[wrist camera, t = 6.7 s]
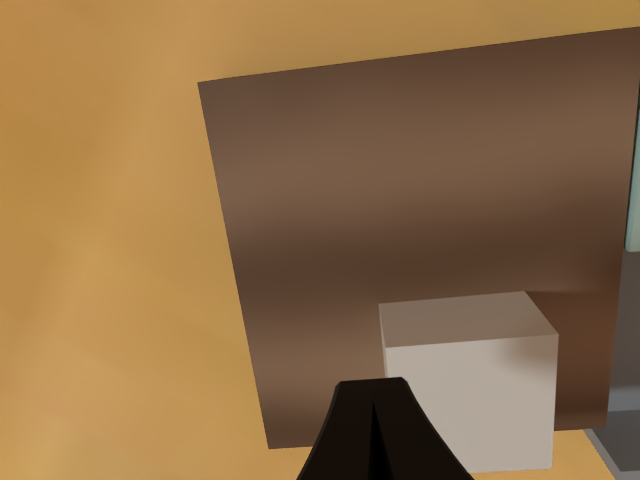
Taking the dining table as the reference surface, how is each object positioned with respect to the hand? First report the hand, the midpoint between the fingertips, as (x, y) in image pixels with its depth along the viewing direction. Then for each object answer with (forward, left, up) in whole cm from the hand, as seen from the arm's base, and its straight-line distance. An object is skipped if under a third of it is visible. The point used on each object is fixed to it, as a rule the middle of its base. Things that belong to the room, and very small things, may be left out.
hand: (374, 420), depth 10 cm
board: (0, -2, -9) cm, 9 cm away
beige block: (-3, -3, -6) cm, 7 cm away
